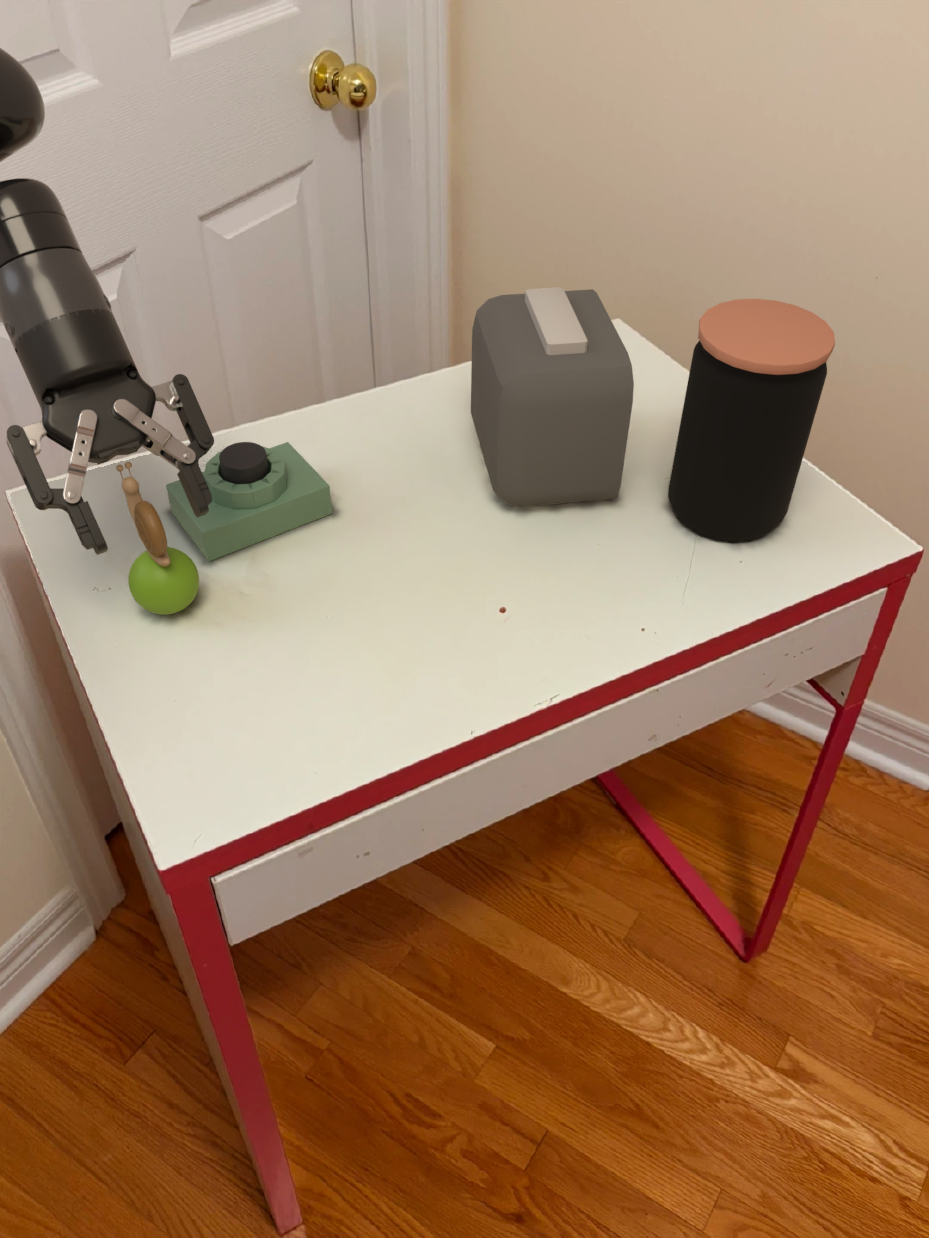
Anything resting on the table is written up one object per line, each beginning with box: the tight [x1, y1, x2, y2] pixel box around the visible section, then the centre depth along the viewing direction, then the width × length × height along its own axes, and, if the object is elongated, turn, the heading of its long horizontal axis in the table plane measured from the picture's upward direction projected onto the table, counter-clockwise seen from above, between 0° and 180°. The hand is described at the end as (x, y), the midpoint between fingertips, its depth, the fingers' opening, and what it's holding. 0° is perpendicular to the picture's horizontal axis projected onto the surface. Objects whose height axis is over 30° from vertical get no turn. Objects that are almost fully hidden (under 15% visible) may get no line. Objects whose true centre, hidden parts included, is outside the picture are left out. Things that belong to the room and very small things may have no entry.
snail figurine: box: [115, 461, 200, 616], centre depth 82 cm, size 5×6×12 cm
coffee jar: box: [667, 298, 836, 544], centre depth 89 cm, size 11×11×18 cm
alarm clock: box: [470, 286, 635, 508], centre depth 95 cm, size 16×11×16 cm
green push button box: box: [165, 441, 333, 562], centre depth 92 cm, size 12×8×5 cm, turn 124°
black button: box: [219, 441, 269, 484], centre depth 90 cm, size 4×4×2 cm
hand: (153, 532), depth 79 cm, fingers open, 7 cm apart
